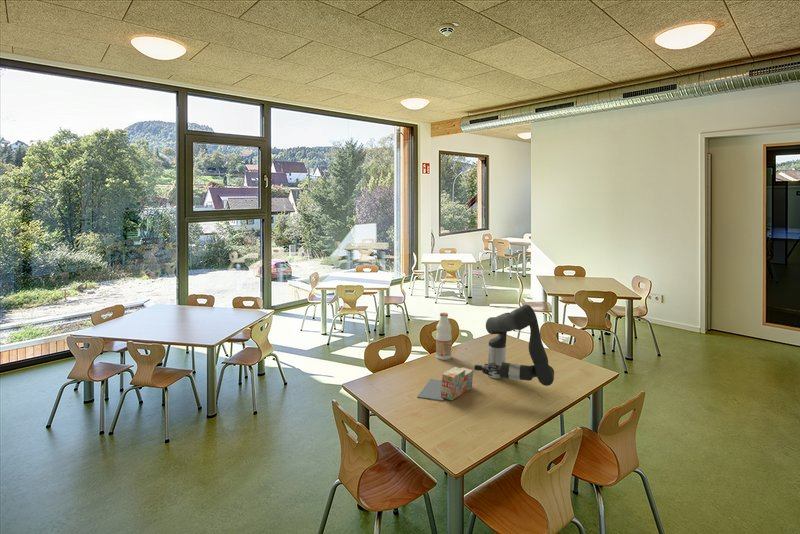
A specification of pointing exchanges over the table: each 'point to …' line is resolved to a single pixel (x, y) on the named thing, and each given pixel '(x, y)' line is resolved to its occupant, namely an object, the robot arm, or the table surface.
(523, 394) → the table surface
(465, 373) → the patterned cardboard box
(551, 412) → the table surface
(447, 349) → the fruit juice
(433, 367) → the table surface
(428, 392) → the mat
